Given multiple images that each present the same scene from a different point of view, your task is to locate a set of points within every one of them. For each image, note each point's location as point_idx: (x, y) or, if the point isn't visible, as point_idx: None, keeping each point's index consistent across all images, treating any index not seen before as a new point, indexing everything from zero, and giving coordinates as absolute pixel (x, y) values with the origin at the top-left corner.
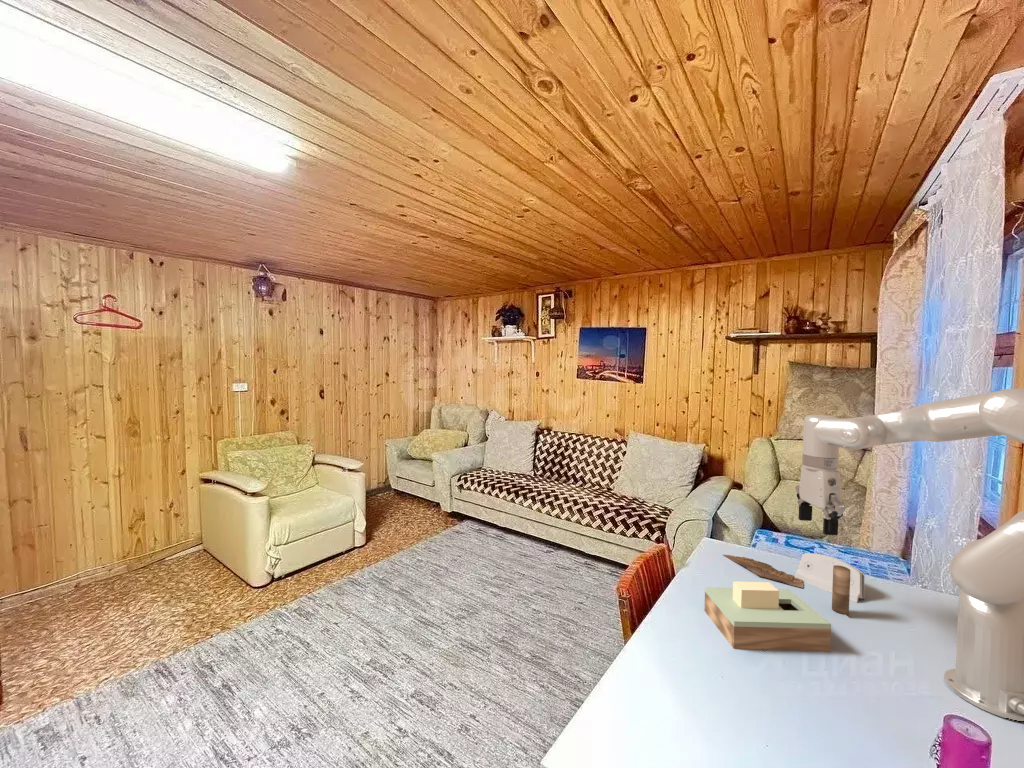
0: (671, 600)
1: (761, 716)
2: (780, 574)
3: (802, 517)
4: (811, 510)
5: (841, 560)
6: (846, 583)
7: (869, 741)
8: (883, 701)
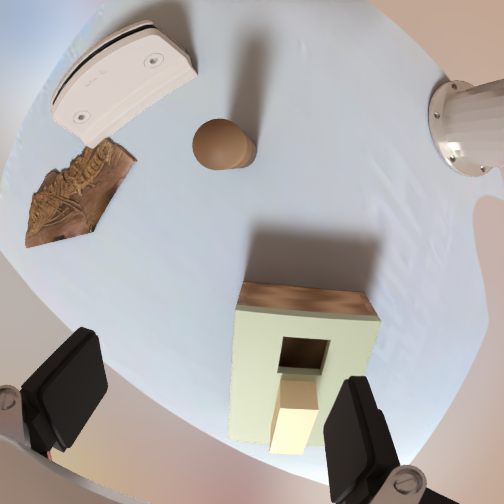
0: (198, 423)
1: (410, 421)
2: (84, 177)
3: (99, 391)
4: (57, 380)
5: (98, 46)
6: (248, 148)
7: (465, 352)
8: (447, 294)
